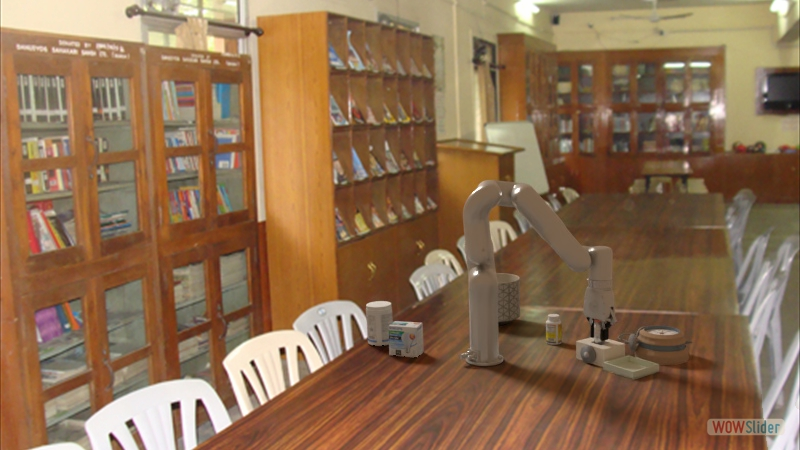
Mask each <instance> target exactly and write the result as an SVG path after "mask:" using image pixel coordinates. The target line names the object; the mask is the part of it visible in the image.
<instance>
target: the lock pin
mask: <svg viewBox="0 0 800 450" xmlns="http://www.w3.org/2000/svg"><path fill="white" fill-rule="evenodd" d="M601 329H602V322H601V320H597V319H594V343H595V344H598V345H604V344H605V341H601V340H600V335H601Z"/></svg>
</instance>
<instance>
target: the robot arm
mask: <svg viewBox="0 0 800 450" xmlns="http://www.w3.org/2000/svg"><path fill="white" fill-rule="evenodd" d="M497 206H499V207H507V208H515V209H516V210H517V212H518V213H520V214H521V216H522V217H523V218H524V219H525V220H526V221H527V223H528V224H529V225H530V226H531V227H532V229H534V231H535V232H536V233H537V234H538V236H540V238H541V239H543V241H544V242H546V243H547V244H548V245H549V246H550V248H551V249H553V251H554V252H555V253H556V255H558V257H560V259H561V260H562V261H563V262H564V263H565V264H566V265H567V267H568V268H569V269H570V270H571V271H573V272H575V273H584V272H586V271H588V278H586V282H587V283H588V286H586V288H585V292H584V299H583V313H582V315H583V317H585V318H586V320H587V321H588V325H589V326H590V335H589V336H590V337H591V338H594V319H597V320H601V322H602V329H601V335H600V340H601V341H605V340H608V339H610V338H609V335H610V330H609V329H610V328H611V327H612V326H613V325H615V324H616V323H618V320H617V318H616V297H615V292H614V289H613V260H614V259H613V258H614V257H613V256H614V255H613V249H612V248H611V247H610V246H606V245H596V246H595V245H594V246H587V245H582V244H581V243H580V242H579V241H578V240H577V239H576V237H574V235H573V234H572V233H571V232H570V230H569V229H568V228H567V227H566V225H565V223H564V221H562V219H561V218H560V217H559V215H558V214H557V213H556V212H555V211H554V210H553V209H552V208H551V207H550V205H548V203H547V202H546V201H545V199H544V198H543V197H541V195H540V194H539V192H537V191H536V190H535V188H534V186H532V185H530V184H529V183H525V182H515V181H513V182H512V181H506V180H505V181H504V180H496V179H485V180H483V181H481V182H480V183H479V184H478V185H477V186H476V188H475V189H474V191H473V192H472V193H470V195H469V196H468V197H467V199H466V201H465V203H464V205H463V210H462V222H463V224H462V225H463V233H464V234H463V235H464V251H465V260H466V268H467V274H468V276H467V277H468V280H467V281H468V315H469V317H468V318H469V319H468V320H469V347H467V351H466V352H462V353H459V354H458V356H457V357H458V359H459V360H464V359H465V362H466V363H467V364H469V365H472V366H477V367H492V366H496V365H497V366H498V365H499V364H501V363H503V362H504V356H503V355H502V354H500V352H499V347H500V346H499V326H498V279H497V275H496V273H497V270H496V264H495V262H496V261H495V254H494V243H493V241H492V240H493V239H492V234H491V226H490V225H491V224H490V213H491V211H492V210H493V209H494V208H496V207H497ZM590 337H589V338H590Z"/></svg>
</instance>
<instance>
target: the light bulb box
mask: <svg viewBox="0 0 800 450" xmlns="http://www.w3.org/2000/svg"><path fill="white" fill-rule="evenodd" d="M423 325H424V324H423V322H413V321H399V320H395V321H394V320H393V323H392V324H391V325H389V345H388V350H389V351H388V356H393V355H396V356H395V357H397V356H398V357H404V356H405V358H414V357H417V358H419V357H420V356H421V355H422V354H423V353H424V328H423V327H424V326H423ZM419 355H420V356H419ZM418 356H419V357H418Z"/></svg>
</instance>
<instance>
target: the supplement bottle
mask: <svg viewBox="0 0 800 450" xmlns="http://www.w3.org/2000/svg"><path fill="white" fill-rule="evenodd" d="M562 326H563V324H562V320H561V319H560V314H558V313H549V314H548V315H547V320H546V321H545V343H546V344H548V345H552V346H555V345H556V346H557V345H560V344H562V343H563V342H562V341H563V331H562V330H563V328H562Z"/></svg>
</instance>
